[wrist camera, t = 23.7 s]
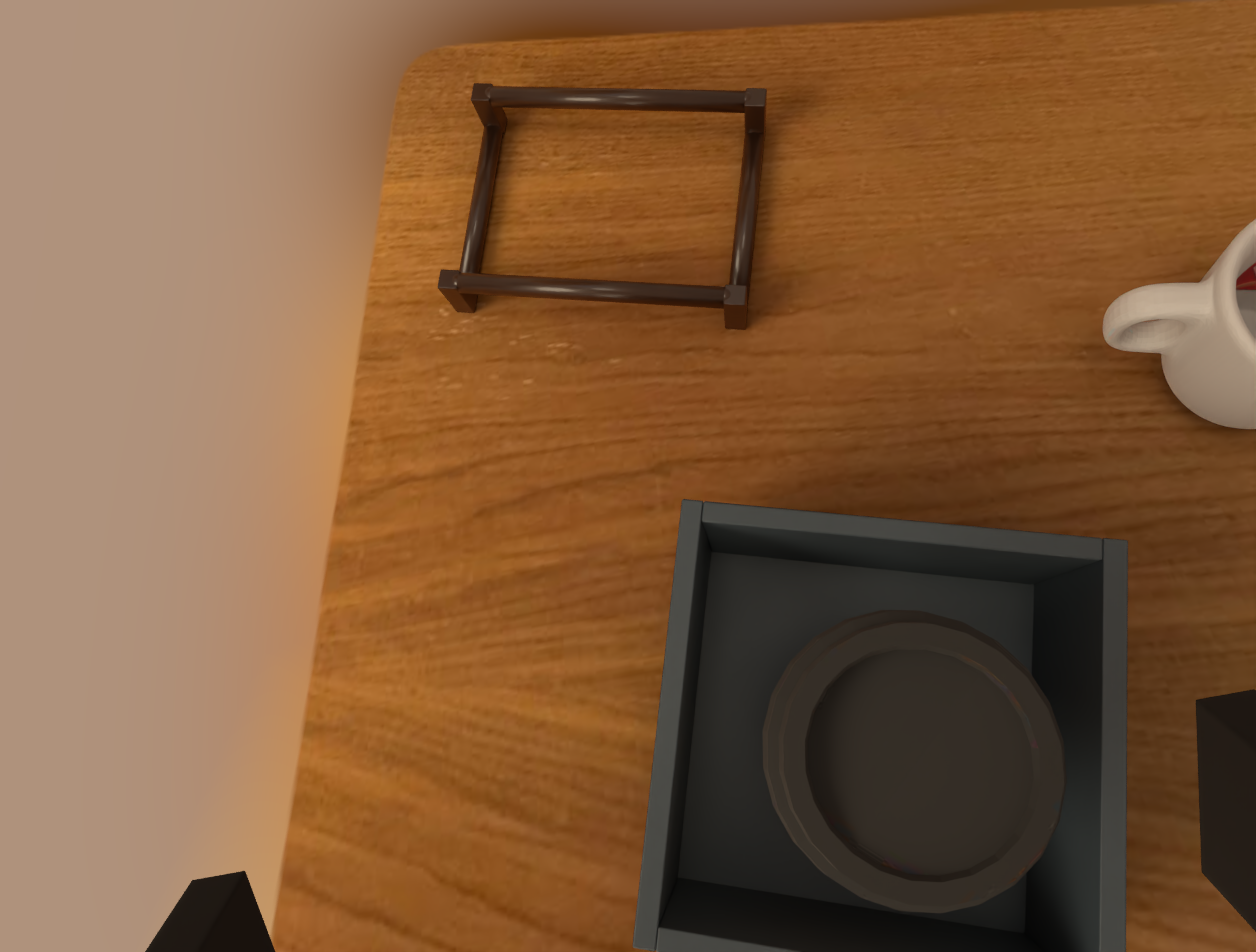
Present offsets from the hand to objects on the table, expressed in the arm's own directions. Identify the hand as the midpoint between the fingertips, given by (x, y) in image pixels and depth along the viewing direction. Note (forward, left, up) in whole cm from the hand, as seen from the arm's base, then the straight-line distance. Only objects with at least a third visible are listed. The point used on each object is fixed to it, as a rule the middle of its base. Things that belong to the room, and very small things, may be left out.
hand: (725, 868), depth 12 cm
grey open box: (+5, +1, -29) cm, 29 cm away
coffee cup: (+5, +1, -28) cm, 28 cm away
